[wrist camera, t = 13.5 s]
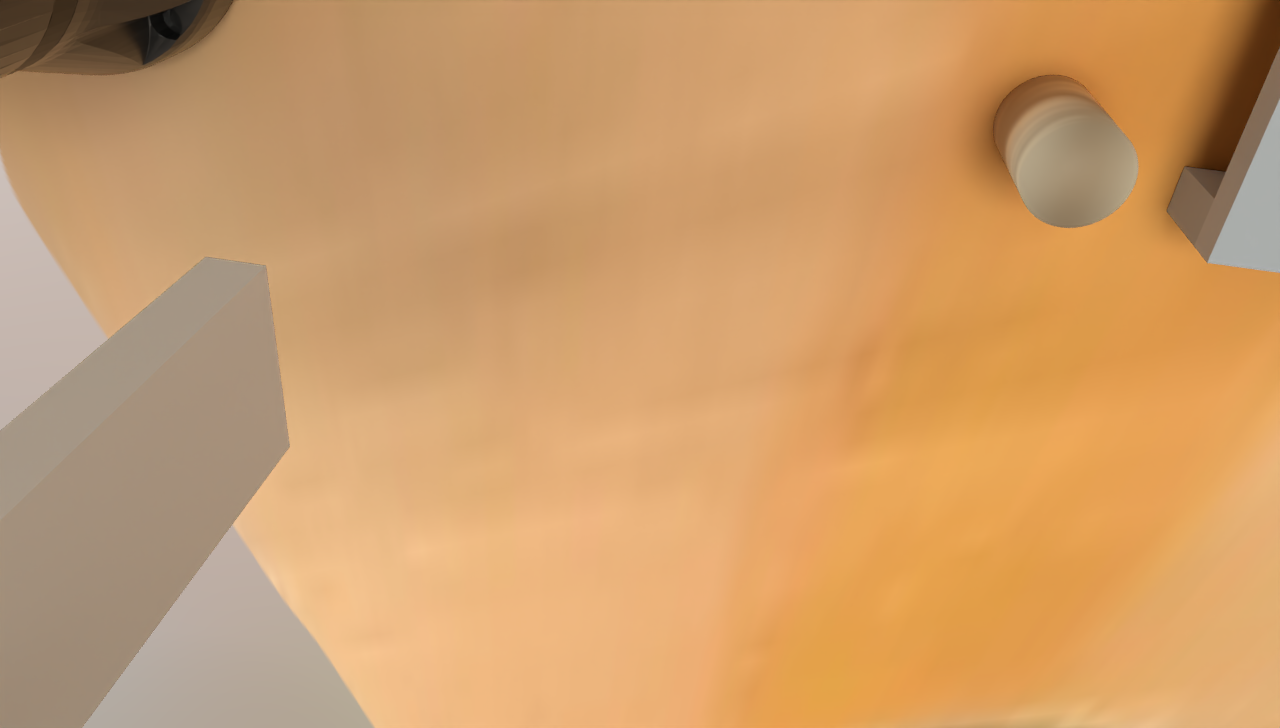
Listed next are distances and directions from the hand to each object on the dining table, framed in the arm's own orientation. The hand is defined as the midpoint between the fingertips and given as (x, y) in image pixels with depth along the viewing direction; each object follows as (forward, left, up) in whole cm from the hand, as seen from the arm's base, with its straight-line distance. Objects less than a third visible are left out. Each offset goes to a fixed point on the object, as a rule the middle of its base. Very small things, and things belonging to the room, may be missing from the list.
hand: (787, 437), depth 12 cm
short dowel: (+11, -5, -32) cm, 34 cm away
